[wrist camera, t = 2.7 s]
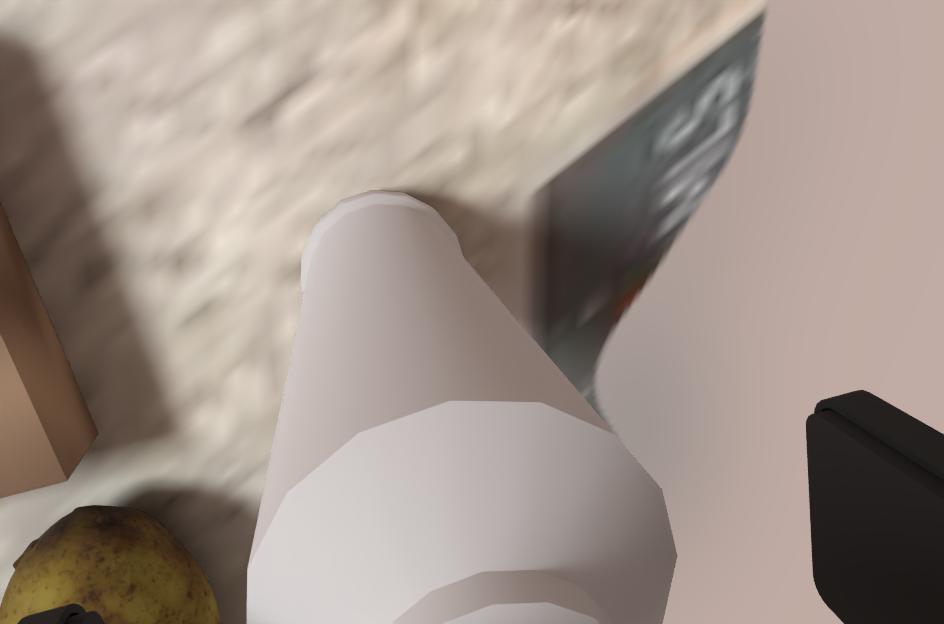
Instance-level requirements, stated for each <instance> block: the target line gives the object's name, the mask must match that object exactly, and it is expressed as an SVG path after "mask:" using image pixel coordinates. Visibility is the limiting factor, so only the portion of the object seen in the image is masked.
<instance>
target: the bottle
mask: <svg viewBox="0 0 944 624" xmlns="http://www.w3.org/2000/svg"><path fill="white" fill-rule="evenodd" d="M301 290H302V292H303V300H302V305H301V310H300V315H299V320H298V324H297V329H296V334H295V339H294V344H293V349H292V354H291V359H290V364H289V368H288V373H287V378H286V383H285V388H284V393H283V398H282V403H281V407H280V412H279V417H278V422H277V427H276V432H275V437H274V442H273V446H272V451H271V456H270V461H269V466H268V471H267V476H266V481H265V485H264V490H263V495H262V500H261V505H260V510H259V515H258V520H257V524H256V529H255V534H254V539H253V544H252V549H251V554H250V559H249V563H248V568H247V624H662V623H663V618H664V614H665V609H666V605H667V600H668V596H669V591H670V587H671V582H672V578H673V573H674V568H675V563H676V559H677V553H676V548H675V544H674V540H673V535H672V531H671V526H670V523H669V518H668V513H667V509H666V505H665V501H664V496H663V492H662V489H661V488H660V487H659V486H658V484H657V483H656V482H655V481H654V480H653V478H652V477H651V476H650V475H649V474H648V473H647V471H646V470H645V469H644V468H643V467H642V466H641V464H640V463H639V462H638V461H637V460H636V458H635V457H633V455H632V454H631V453H630V451H629V450H628V449H627V448H626V447H625V446H624V444H623V443H622V442H621V441H620V440H619V439H618V437H617V436H616V435H615V434H614V433H613V432H612V430H611V429H610V428H609V427H608V426H607V424H606V423H605V422H604V421H603V420H602V419H601V417H600V416H599V415H598V414H597V413H596V412H595V410H594V409H593V408H592V407H591V406H590V405H589V403H588V402H587V401H586V400H585V399H584V398H583V396H582V395H581V394H580V393H579V392H578V391H577V389H576V388H575V387H574V386H573V385H572V384H571V382H570V381H569V380H568V379H567V378H566V377H565V375H564V374H563V373H562V372H561V371H560V369H559V368H558V367H557V366H556V365H555V364H554V362H553V361H552V360H551V359H550V358H549V357H548V355H547V354H546V353H545V352H544V351H543V350H542V348H541V347H540V346H539V345H538V344H537V343H536V341H535V340H534V339H533V338H532V337H531V336H530V334H529V333H528V332H527V331H526V330H525V329H524V327H523V326H522V325H521V324H520V323H519V321H518V320H517V319H516V318H515V317H514V316H513V314H512V313H511V312H510V311H509V310H508V309H507V307H506V306H505V305H504V304H503V303H502V302H501V300H500V299H499V298H498V297H497V296H496V295H495V293H494V292H493V291H492V290H491V289H490V288H489V286H488V285H487V284H486V283H485V282H484V281H483V279H482V278H481V277H480V276H479V275H478V273H477V272H476V271H475V270H474V269H473V268H472V266H471V265H470V264H469V263H468V262H467V261H466V259H465V258H464V257H463V254H462V251H461V248H460V245H459V241H458V238H457V235H456V234H455V233H454V231H453V230H452V229H451V228H450V227H449V226H448V224H447V223H446V222H445V221H444V220H443V218H442V217H441V216H440V215H439V214H438V212H437V211H436V210H435V209H434V208H433V207H431V206H429V205H427V204H425V203H423V202H421V201H419V200H417V199H415V198H413V197H411V196H409V195H407V194H405V193H403V192H391V191H378V190H370V191H367V192H364V193H361V194H358V195H355V196H352V197H349V198H346V199H343V200H341V201H340V202H339V203H337V204H336V205H335V206H334V207H333V208H332V209H330V210H329V211H328V212H327V213H326V214H325V215H324V216H322V217H321V218H320V219H319V220H318V221H317V222H316V225H315V227H314V229H313V231H312V233H311V235H310V237H309V239H308V241H307V243H306V245H305V247H304V249H303V252H302V261H301Z"/></svg>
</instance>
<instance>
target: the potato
mask: <svg viewBox="0 0 944 624" xmlns="http://www.w3.org/2000/svg"><path fill="white" fill-rule="evenodd" d="M13 566H14V568H15V569H16V570H15V572H14V574H13V576H12V578H11V580H10V582H9V584H8V586H7V589H6V591H5V594H4V597H3V600H2V603H1V606H0V624H17V623H18V622H19V621H20V620H21V619H22V618H24V617H26V616H28V615H32V614H35V613H39V612H43V611H46V610H50V609H54V608H57V607H61V606H65V605H68V604H72V603H75V604H79V605H80V606H82V607H83V608H84V609H85V611H86V612H89V611H96V612H97V613H99V614H100V616H101V617H102V619H103V621H104V623H105V624H221V620H220V614H219V610H218V606H217V603H216V599H215V596H214V594H213V591H212V589H211V586H210V584H209V582H208V580H207V578H206V576H205V575H204V573H203V571H202V569H201V568H200V566H199V565H198V563H197V562H196V560H195V559H194V558H193V557H192V555H191V554H190V553H189V552H188V551H187V549H186V548H185V547H184V546H183V545H182V544H181V543H180V542H179V541H178V540H177V539H176V538H174V537H173V536H172V535H171V534H170V533H169V532H168V531H167V530H166V529H165V528H164V527H163V526H162V525H161V524H160V523H158V522H157V521H156V520H154V519H153V518H152V517H151V516H149V515H147V514H145V513H144V512H141V511H138V510H134V509H130V508H125V507H116V506H100V505H92V506H84V507H78V508H76V509H74V511H73V512H71V513H70V514H68V515H66V516H65V517H63V518H61V519H60V520H59V521H58V522H56V523H55V524H54V525H52V526H51V527H50V528H49V529H48V530H47V531H46V532H45V533H44V534H43V535H42V536H40V537H39V538H38V539H36V540H34V541H33V542H32V543H30V545H29V546H28V547H27V549H26V550H25V551H24V553H23V554H22V555H21V556H20V557H19V558H18V559H17V560H16V561H15V563H14V564H13Z"/></svg>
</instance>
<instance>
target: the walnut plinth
mask: <svg viewBox="0 0 944 624" xmlns="http://www.w3.org/2000/svg"><path fill="white" fill-rule="evenodd" d="M97 435H98V432H97V429H96V427H95V425H94V422H93V420H92V417H91V415H90V413H89V410H88V408H87V406H86V403H85V401H84V399H83V396H82V394H81V392H80V389H79V387H78V385H77V382H76V380H75V377H74V375H73V373H72V370H71V368H70V366H69V363H68V361H67V359H66V356H65V354H64V352H63V349H62V347H61V345H60V342H59V340H58V338H57V335H56V333H55V330H54V328H53V326H52V323H51V321H50V319H49V316H48V314H47V312H46V309H45V307H44V305H43V302H42V300H41V298H40V295H39V293H38V290H37V288H36V286H35V283H34V281H33V279H32V276H31V274H30V272H29V269H28V267H27V265H26V262H25V260H24V258H23V255H22V253H21V251H20V248H19V246H18V243H17V241H16V239H15V236H14V234H13V232H12V229H11V227H10V225H9V222H8V220H7V218H6V215H5V213H4V211H3V208H2V206H1V203H0V498H3V497H7V496H10V495H14V494H18V493H22V492H26V491H30V490H34V489H38V488H41V487H45V486H49V485H53V484H57V483H61V482H65V481H67V480H68V479H69V477H70V476H71V474H72V473H73V471H74V470H75V468H76V467H77V465H78V464H79V462H80V461H81V459H82V458H83V456H84V455H85V453H86V452H87V450H88V448H89V447H90V445H91V444H92V442H93V441H94V439H95V438H96V436H97Z"/></svg>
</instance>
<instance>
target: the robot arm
mask: <svg viewBox="0 0 944 624" xmlns="http://www.w3.org/2000/svg"><path fill="white" fill-rule="evenodd" d="M806 438H807V458H808V479H809V499H810V500H809V501H810V522H811V542H812V562H813V577H814V582H815V585H816V588H817V590H818V593H819V595H820V596H821V598H822V600H823V601H824V602H825V603H826V605H827V606H828V607H829V608H830V609H831V610H832V611H833V612H834V613H835V614H836V616H837V617H838V618H839V619H840V620H841V621H842V622H843V623H844V624H944V434H942V433H940V432H938V431H937V430H935V429H933V428H931V427H930V426H928V425H926V424H924V423H923V422H921V421H919V420H917V419H915V418H914V417H912V416H910V415H908V414H907V413H905V412H903V411H901V410H900V409H898V408H896V407H894V406H893V405H891V404H889V403H887V402H886V401H884V400H882V399H880V398H878V397H877V396H875V395H873V394H871V393H870V392H867V391H864V390H858V391H854V392H850V393H846V394H842V395H839V396H835V397H832V398H828V399H824V400H821V401H820V402H819V403H817V405H816V407H815V411H814V414H811V415H810V416H808V418H807V421H806ZM17 624H105V623H104V621H103V619H102V617H101V616H100V614H99V613H97V612H96V611H89V612H86V611H85V609H84V608H83V607H82V606H80V605H79V604H75V603H72V604H68V605H65V606H61V607H57V608H54V609H50V610H46V611H43V612H39V613H35V614H32V615H28V616H26V617H24V618H22V619H21V620H20V621H19V622H18V623H17Z"/></svg>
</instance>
